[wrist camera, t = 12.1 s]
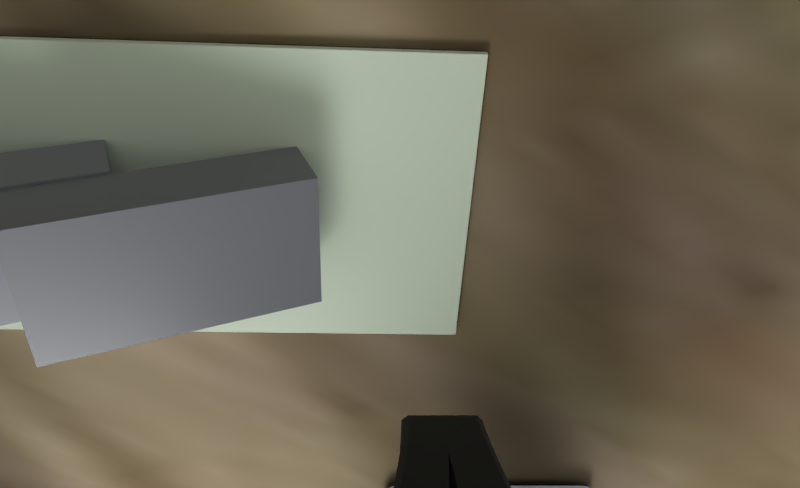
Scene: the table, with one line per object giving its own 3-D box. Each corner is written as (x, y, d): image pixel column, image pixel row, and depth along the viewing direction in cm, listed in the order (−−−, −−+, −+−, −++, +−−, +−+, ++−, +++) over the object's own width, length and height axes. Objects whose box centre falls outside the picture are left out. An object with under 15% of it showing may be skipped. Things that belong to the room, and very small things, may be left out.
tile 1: (317, 177, 16) (-11, 232, 14) (321, 301, 19) (37, 367, 16) (296, 146, 18) (-7, 190, 15) (302, 264, 20) (37, 320, 17)
